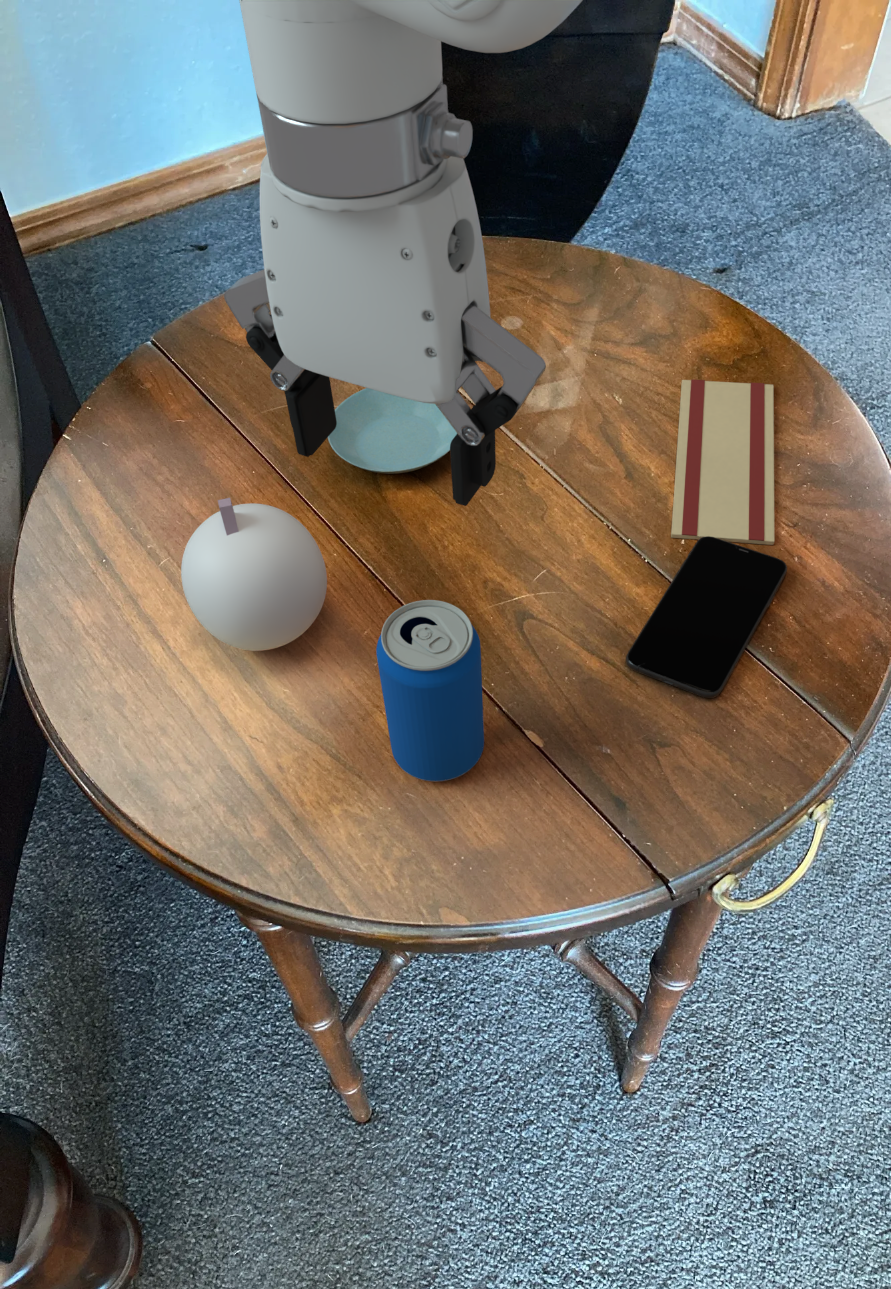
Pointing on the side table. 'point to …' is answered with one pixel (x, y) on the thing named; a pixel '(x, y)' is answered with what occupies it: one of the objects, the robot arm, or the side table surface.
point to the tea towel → (725, 462)
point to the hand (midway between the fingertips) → (393, 464)
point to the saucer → (389, 432)
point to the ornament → (253, 576)
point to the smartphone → (707, 616)
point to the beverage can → (432, 689)
